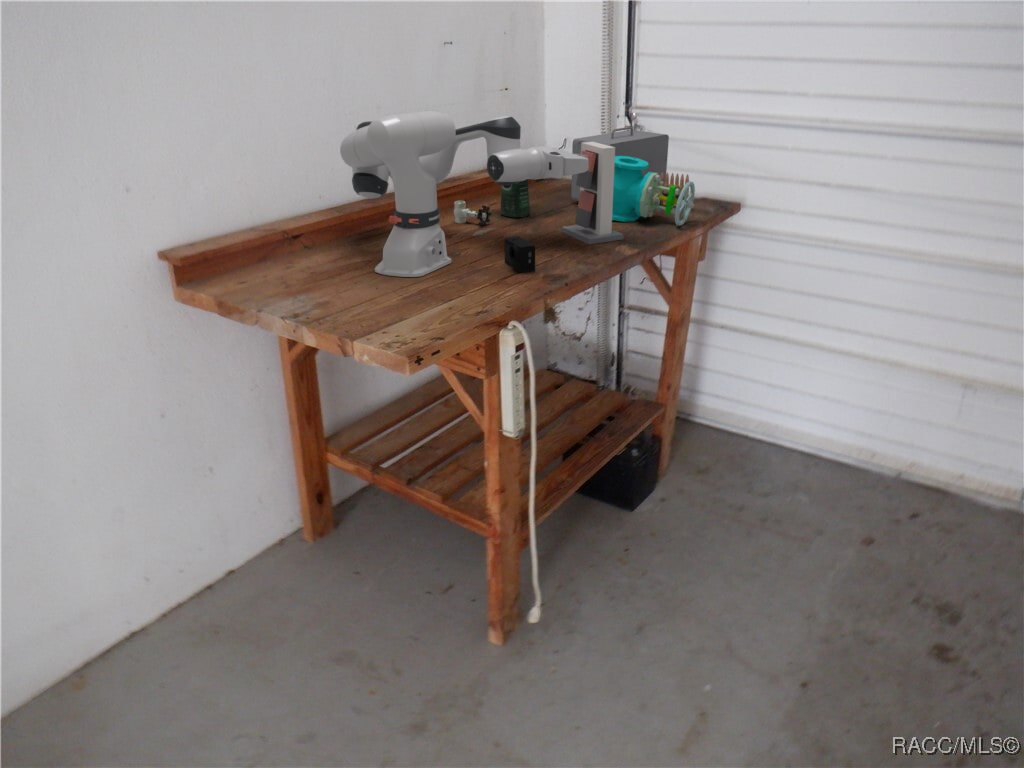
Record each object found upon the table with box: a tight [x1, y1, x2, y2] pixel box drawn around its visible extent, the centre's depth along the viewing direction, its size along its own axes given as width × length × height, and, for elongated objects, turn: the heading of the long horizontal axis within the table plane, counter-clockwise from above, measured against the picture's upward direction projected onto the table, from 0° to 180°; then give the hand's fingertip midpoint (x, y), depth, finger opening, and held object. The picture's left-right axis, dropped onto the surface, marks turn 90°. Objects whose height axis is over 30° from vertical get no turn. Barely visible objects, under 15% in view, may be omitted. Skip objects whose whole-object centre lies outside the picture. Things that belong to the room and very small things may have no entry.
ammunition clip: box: [659, 171, 690, 212], centre depth 275 cm, size 11×2×12 cm, turn 60°
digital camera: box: [504, 236, 536, 274], centre depth 217 cm, size 10×5×7 cm, turn 25°
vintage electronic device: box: [570, 126, 670, 202], centre depth 285 cm, size 32×18×25 cm, turn 133°
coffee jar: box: [500, 179, 531, 219], centre depth 267 cm, size 10×8×19 cm
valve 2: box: [612, 156, 696, 227], centre depth 259 cm, size 14×18×30 cm
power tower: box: [561, 142, 624, 245], centre depth 241 cm, size 12×16×27 cm
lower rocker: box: [574, 190, 595, 228], centre depth 242 cm, size 1×6×10 cm, turn 27°
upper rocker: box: [576, 151, 596, 189], centre depth 237 cm, size 1×6×10 cm, turn 27°
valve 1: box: [453, 200, 492, 227], centre depth 260 cm, size 7×7×12 cm
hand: (585, 157), depth 236 cm, fingers closed, pressing on upper rocker
